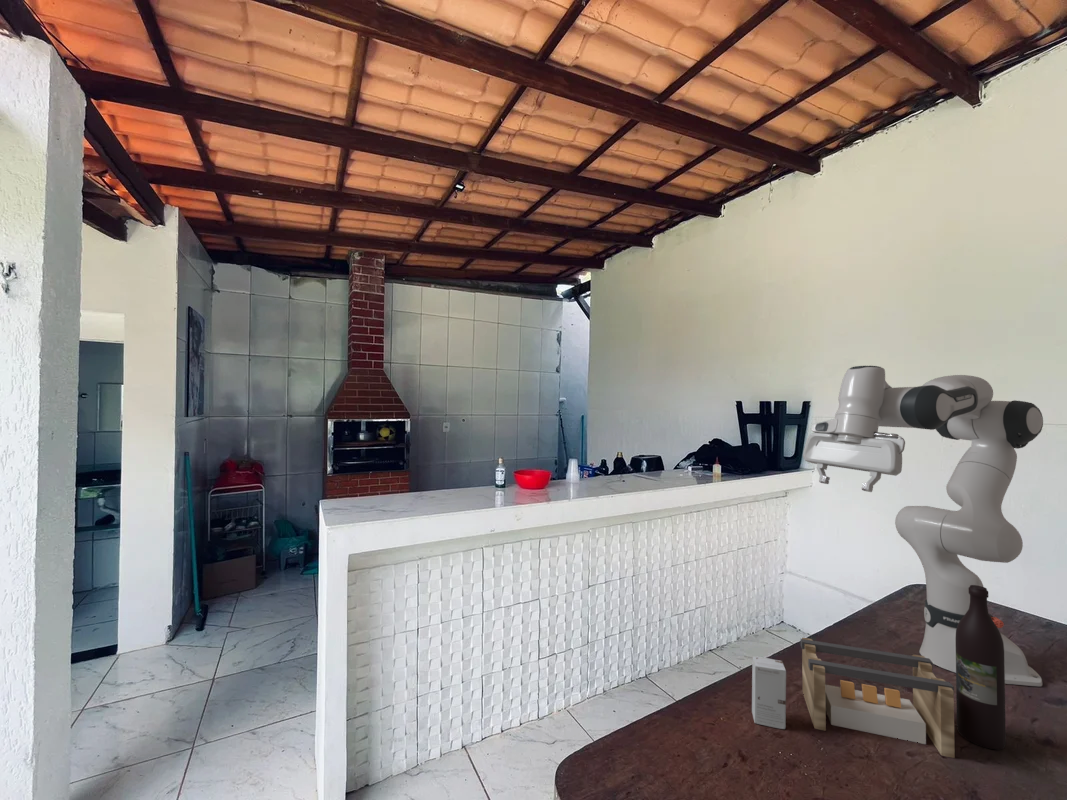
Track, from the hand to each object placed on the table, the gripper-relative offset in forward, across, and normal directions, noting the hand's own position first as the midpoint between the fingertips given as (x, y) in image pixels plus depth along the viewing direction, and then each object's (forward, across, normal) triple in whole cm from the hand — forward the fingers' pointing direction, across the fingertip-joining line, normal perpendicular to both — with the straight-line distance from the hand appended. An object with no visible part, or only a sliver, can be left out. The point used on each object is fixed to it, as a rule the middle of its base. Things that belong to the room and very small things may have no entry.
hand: (844, 487), depth 110 cm
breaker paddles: (+43, -11, -4) cm, 45 cm away
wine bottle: (+43, -24, -18) cm, 53 cm away
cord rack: (+47, -11, -5) cm, 49 cm away
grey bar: (+37, -13, +2) cm, 40 cm away
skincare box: (+53, 0, +13) cm, 54 cm away
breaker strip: (+47, -11, -5) cm, 49 cm away
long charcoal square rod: (+36, -7, -5) cm, 37 cm away
